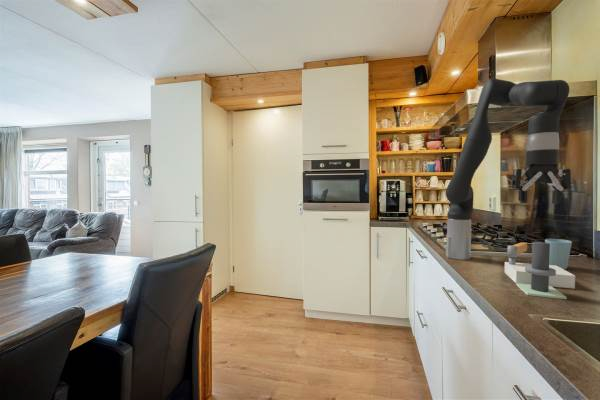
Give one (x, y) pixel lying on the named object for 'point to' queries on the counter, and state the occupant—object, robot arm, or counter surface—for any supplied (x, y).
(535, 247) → the plug
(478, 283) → the counter surface
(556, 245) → the cup
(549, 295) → the pad
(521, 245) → the tan piece
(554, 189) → the robot arm
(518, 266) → the socket block
